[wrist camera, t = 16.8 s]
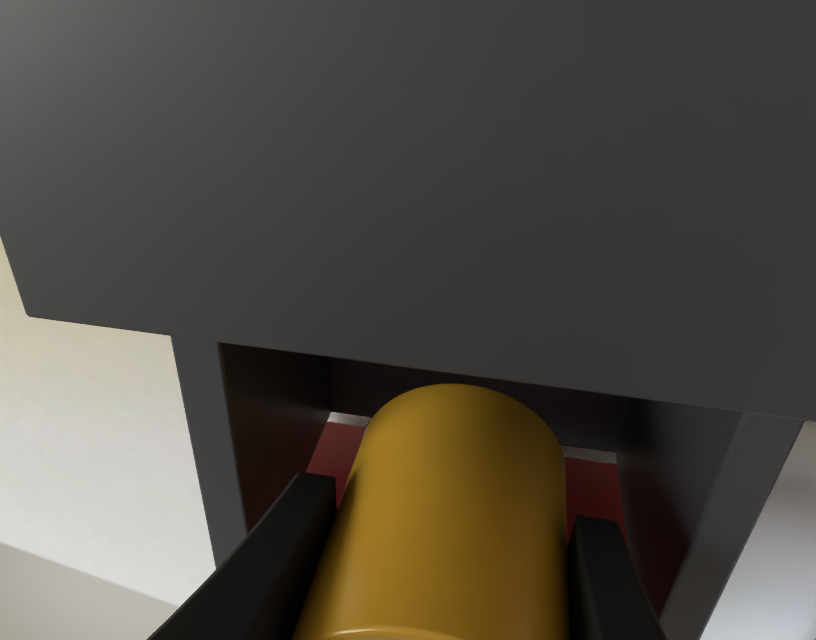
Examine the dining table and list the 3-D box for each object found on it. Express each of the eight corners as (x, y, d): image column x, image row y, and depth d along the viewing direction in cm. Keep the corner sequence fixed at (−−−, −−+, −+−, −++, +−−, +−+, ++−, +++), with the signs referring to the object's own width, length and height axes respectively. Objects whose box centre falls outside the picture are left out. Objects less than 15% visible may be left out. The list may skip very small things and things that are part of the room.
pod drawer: (614, 595, 21) (639, 848, 15) (303, 541, 22) (222, 757, 17) (807, 22, 12) (1045, 133, 6) (259, -12, 13) (46, 54, 8)
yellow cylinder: (581, 396, 12) (601, 668, 7) (550, 546, 14) (550, 824, 10) (361, 368, 12) (263, 605, 8) (363, 517, 14) (286, 766, 10)
